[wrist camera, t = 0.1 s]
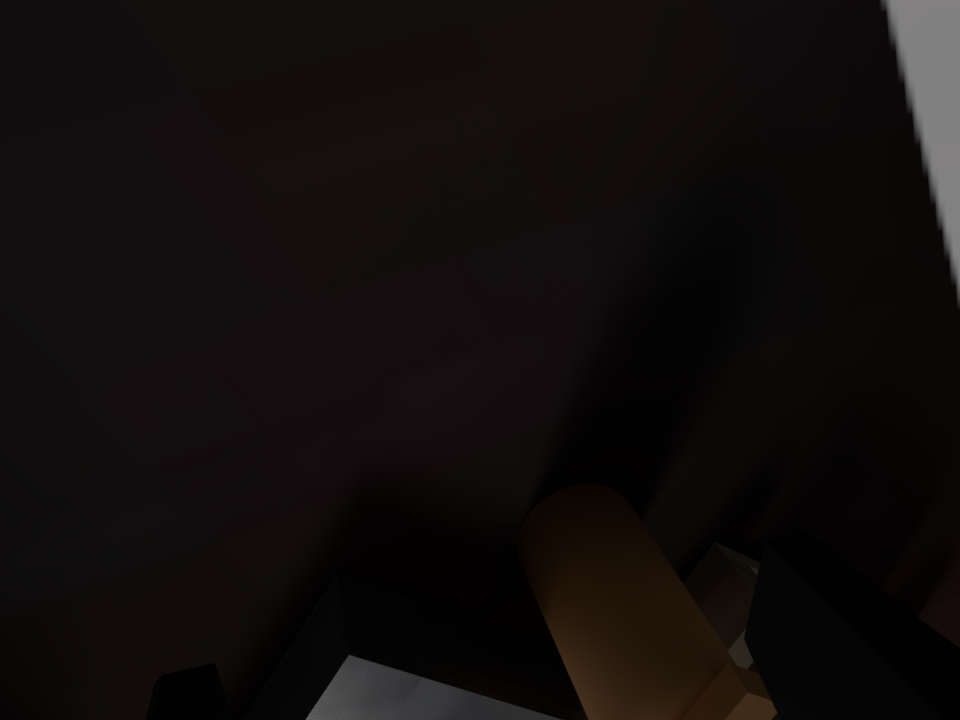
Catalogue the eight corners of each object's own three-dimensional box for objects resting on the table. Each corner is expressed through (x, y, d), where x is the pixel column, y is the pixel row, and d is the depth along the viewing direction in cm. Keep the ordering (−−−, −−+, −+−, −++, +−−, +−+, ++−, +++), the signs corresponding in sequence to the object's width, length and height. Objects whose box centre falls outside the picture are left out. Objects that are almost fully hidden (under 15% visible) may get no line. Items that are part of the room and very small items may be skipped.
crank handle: (584, 608, 26) (706, 854, 19) (487, 572, 25) (582, 823, 18) (665, 500, 25) (824, 719, 18) (568, 456, 24) (702, 676, 17)
